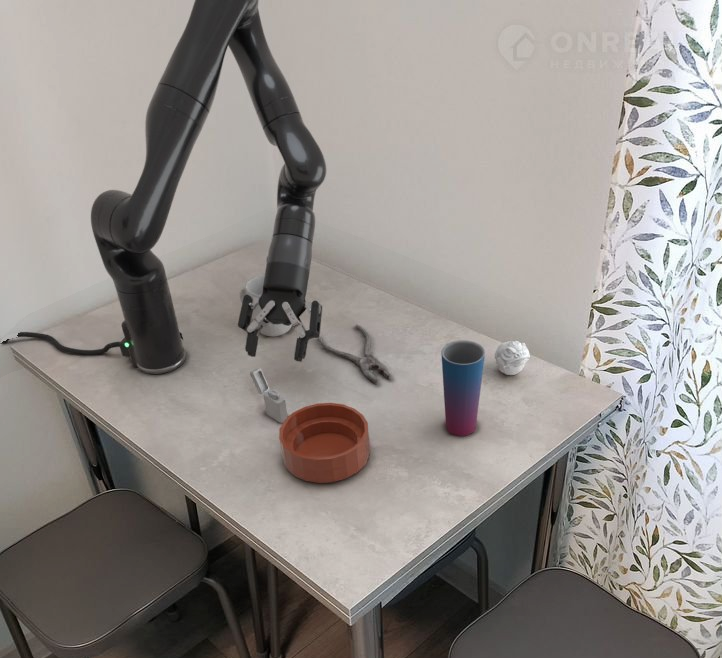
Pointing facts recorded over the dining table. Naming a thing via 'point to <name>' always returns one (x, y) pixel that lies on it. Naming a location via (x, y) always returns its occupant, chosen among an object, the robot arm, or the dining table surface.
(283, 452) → the bowl
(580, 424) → the dining table surface
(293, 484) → the dining table surface
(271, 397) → the lighter
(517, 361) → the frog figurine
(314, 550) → the dining table surface
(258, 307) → the mug
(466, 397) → the cup
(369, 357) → the pliers
